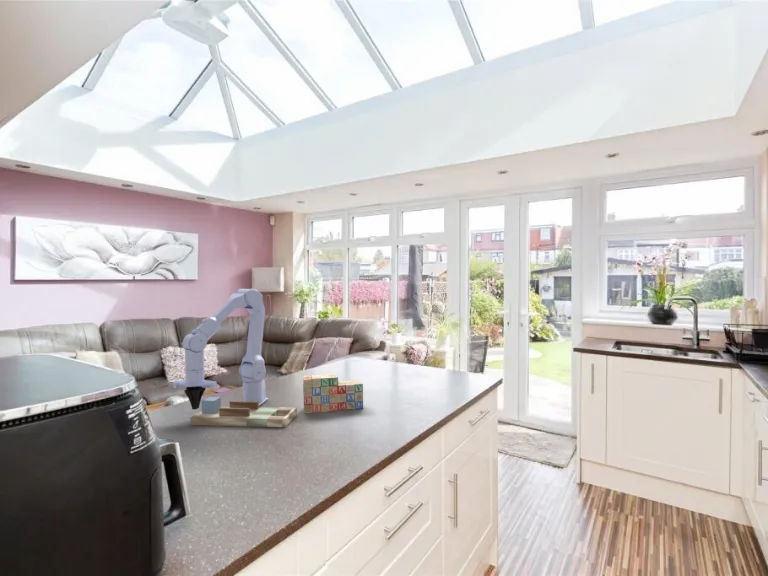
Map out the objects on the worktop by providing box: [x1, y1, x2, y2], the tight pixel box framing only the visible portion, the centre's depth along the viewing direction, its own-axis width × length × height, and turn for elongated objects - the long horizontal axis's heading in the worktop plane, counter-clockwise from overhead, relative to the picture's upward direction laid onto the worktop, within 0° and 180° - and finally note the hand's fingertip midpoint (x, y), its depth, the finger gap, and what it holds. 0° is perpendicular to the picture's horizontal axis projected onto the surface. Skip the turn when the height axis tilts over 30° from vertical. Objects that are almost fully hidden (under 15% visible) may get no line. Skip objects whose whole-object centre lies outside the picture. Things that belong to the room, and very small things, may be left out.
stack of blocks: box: [302, 373, 364, 414], centre depth 150 cm, size 21×6×12 cm, turn 101°
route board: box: [189, 400, 298, 428], centre depth 139 cm, size 12×32×5 cm, turn 85°
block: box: [201, 396, 222, 414], centre depth 140 cm, size 4×4×4 cm
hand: (195, 408), depth 141 cm, fingers closed
